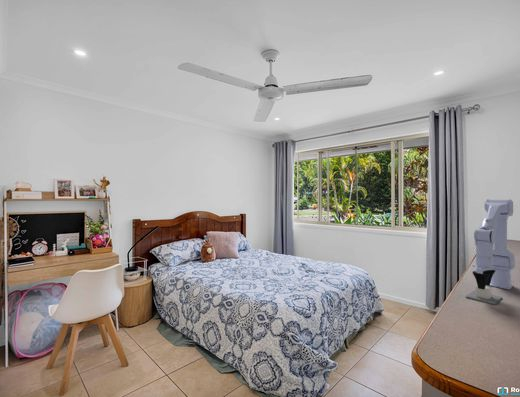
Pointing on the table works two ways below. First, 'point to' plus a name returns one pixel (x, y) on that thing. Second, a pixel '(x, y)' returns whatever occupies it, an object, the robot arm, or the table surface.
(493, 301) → the gray mat
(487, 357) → the table surface
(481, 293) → the cream cube
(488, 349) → the table surface
